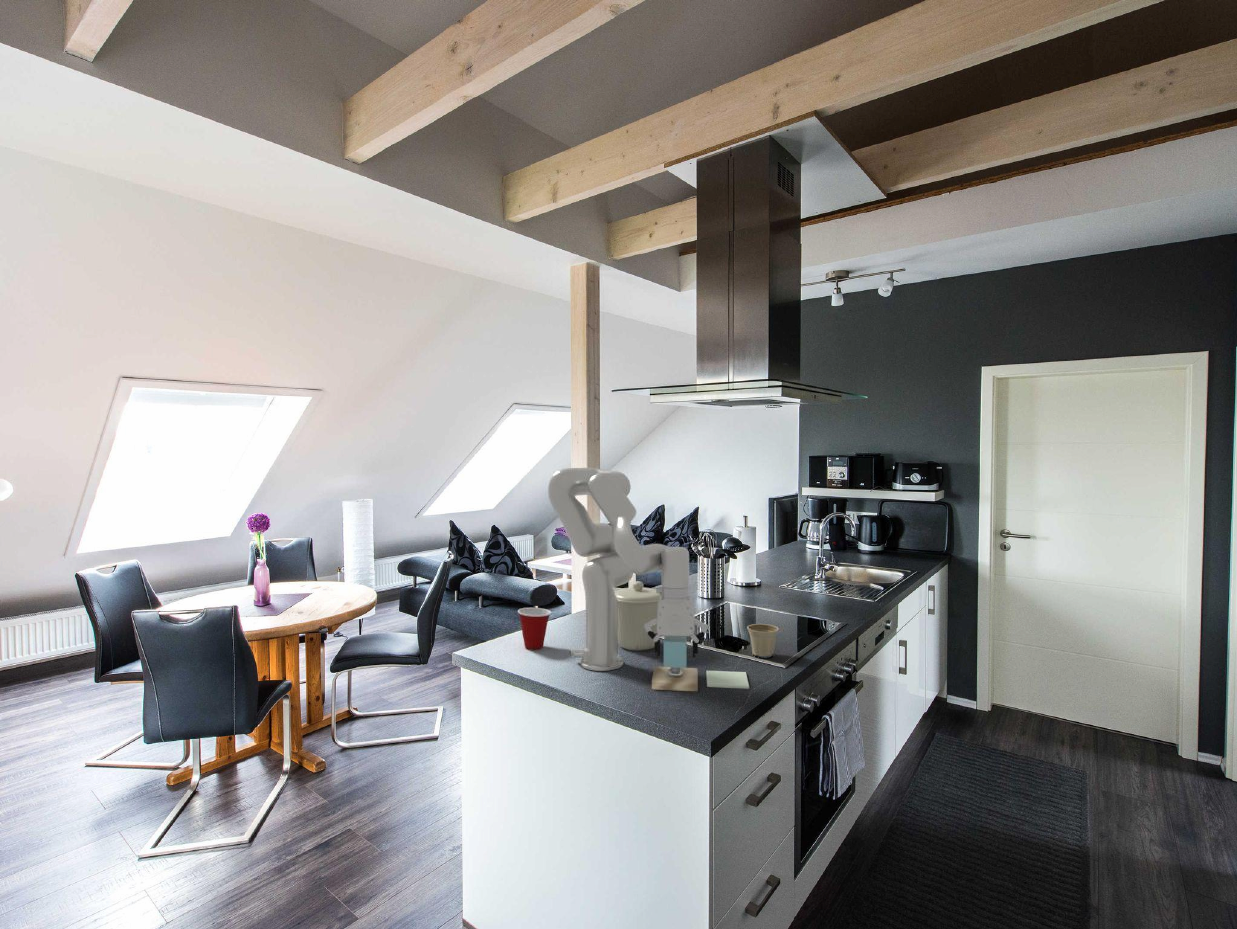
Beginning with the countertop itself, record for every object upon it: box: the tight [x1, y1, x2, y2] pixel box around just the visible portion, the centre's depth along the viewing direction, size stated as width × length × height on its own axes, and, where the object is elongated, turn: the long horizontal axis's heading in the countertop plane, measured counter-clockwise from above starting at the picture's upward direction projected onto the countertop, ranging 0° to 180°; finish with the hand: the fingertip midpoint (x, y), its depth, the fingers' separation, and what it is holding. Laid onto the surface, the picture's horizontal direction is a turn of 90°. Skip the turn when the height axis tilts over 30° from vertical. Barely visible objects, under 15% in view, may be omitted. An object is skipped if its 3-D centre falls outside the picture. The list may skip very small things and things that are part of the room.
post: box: [668, 667, 683, 677], centre depth 170 cm, size 4×4×9 cm
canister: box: [614, 580, 662, 652], centre depth 202 cm, size 18×18×21 cm
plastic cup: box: [517, 607, 552, 650], centre depth 201 cm, size 11×11×12 cm
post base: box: [651, 666, 699, 692], centre depth 170 cm, size 12×12×2 cm
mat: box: [705, 670, 750, 690], centre depth 171 cm, size 11×11×1 cm
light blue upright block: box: [663, 636, 688, 668], centre depth 170 cm, size 6×6×7 cm
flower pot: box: [746, 623, 779, 656], centre depth 192 cm, size 9×9×9 cm
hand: (676, 655), depth 170 cm, fingers open, 9 cm apart
